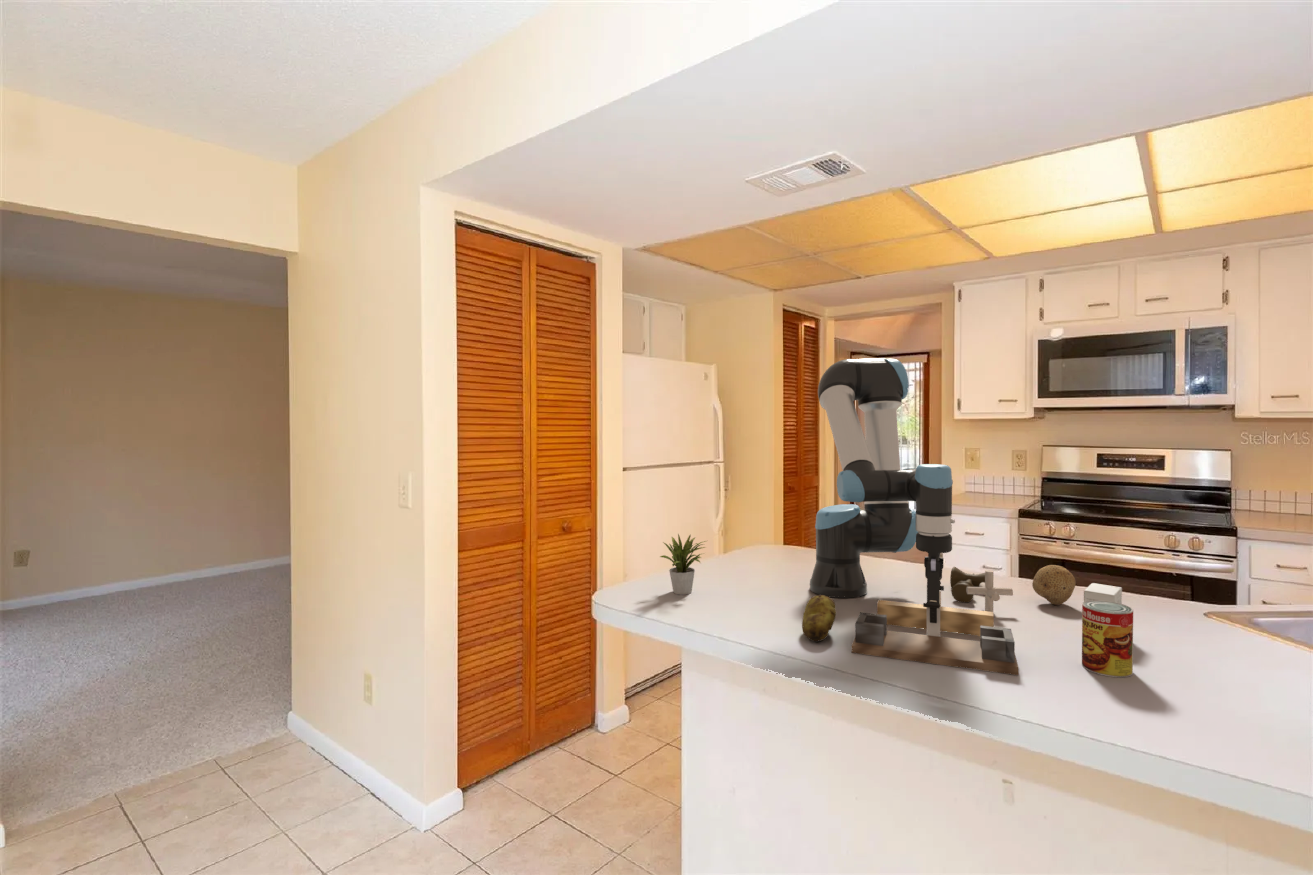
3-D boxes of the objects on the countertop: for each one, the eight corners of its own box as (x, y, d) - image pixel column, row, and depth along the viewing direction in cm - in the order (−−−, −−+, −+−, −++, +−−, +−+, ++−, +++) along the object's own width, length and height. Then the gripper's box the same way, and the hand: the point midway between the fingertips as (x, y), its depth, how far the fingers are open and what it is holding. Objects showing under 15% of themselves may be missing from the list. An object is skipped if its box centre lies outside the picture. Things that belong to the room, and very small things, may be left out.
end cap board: (851, 652, 131) (851, 626, 131) (859, 633, 142) (859, 609, 142) (1018, 675, 119) (1018, 646, 119) (1012, 652, 130) (1013, 626, 130)
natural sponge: (1042, 609, 156) (1042, 569, 156) (1025, 599, 165) (1026, 560, 165) (1082, 610, 155) (1082, 569, 155) (1063, 599, 164) (1063, 561, 164)
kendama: (941, 602, 166) (954, 581, 183) (982, 608, 161) (992, 587, 177) (941, 579, 166) (955, 561, 182) (983, 585, 160) (993, 566, 177)
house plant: (702, 602, 168) (701, 540, 167) (651, 599, 172) (650, 538, 171) (713, 587, 181) (712, 530, 181) (666, 585, 185) (665, 529, 185)
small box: (1091, 628, 143) (1091, 582, 142) (1121, 634, 139) (1122, 586, 138) (1082, 638, 137) (1082, 589, 137) (1114, 644, 133) (1114, 594, 133)
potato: (787, 639, 140) (787, 603, 140) (813, 623, 150) (813, 589, 150) (823, 647, 135) (822, 610, 134) (847, 630, 145) (847, 595, 144)
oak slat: (877, 624, 149) (877, 603, 149) (878, 620, 152) (878, 599, 151) (993, 638, 138) (993, 616, 138) (993, 634, 141) (993, 612, 141)
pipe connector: (1018, 619, 150) (1019, 577, 149) (972, 617, 152) (972, 575, 151) (1004, 606, 160) (1004, 566, 159) (961, 604, 162) (961, 565, 161)
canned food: (1072, 660, 125) (1073, 600, 125) (1113, 660, 125) (1114, 600, 124) (1099, 677, 117) (1099, 613, 117) (1143, 677, 117) (1143, 612, 117)
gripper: (952, 544, 131) (952, 647, 132) (952, 524, 154) (952, 613, 154) (912, 542, 135) (913, 643, 135) (918, 523, 157) (918, 609, 158)
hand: (934, 627), depth 145 cm, fingers open, 12 cm apart
